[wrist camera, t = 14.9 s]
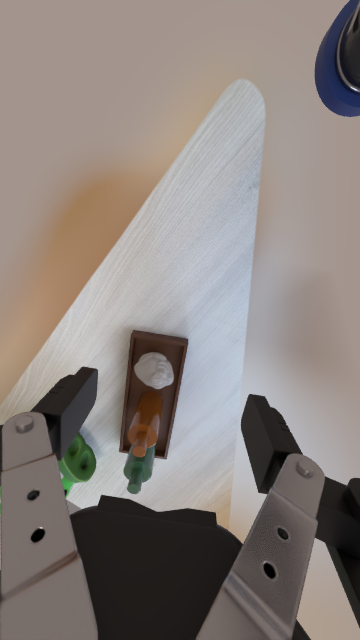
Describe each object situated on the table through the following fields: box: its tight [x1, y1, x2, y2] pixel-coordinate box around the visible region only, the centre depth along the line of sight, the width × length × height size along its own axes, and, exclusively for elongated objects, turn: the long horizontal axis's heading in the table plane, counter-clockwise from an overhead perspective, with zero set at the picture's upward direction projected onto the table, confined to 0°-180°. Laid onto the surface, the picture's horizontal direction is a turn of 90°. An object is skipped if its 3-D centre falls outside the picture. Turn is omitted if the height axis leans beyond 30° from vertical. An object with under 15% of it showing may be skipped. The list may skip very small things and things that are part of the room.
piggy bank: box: [0, 433, 96, 515], centre depth 46 cm, size 14×18×15 cm
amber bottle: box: [128, 392, 163, 457], centre depth 42 cm, size 5×5×12 cm
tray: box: [119, 330, 188, 459], centre depth 47 cm, size 27×10×2 cm, turn 171°
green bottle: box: [124, 442, 157, 494], centre depth 45 cm, size 5×5×12 cm
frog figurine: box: [134, 352, 174, 389], centre depth 41 cm, size 6×7×7 cm
